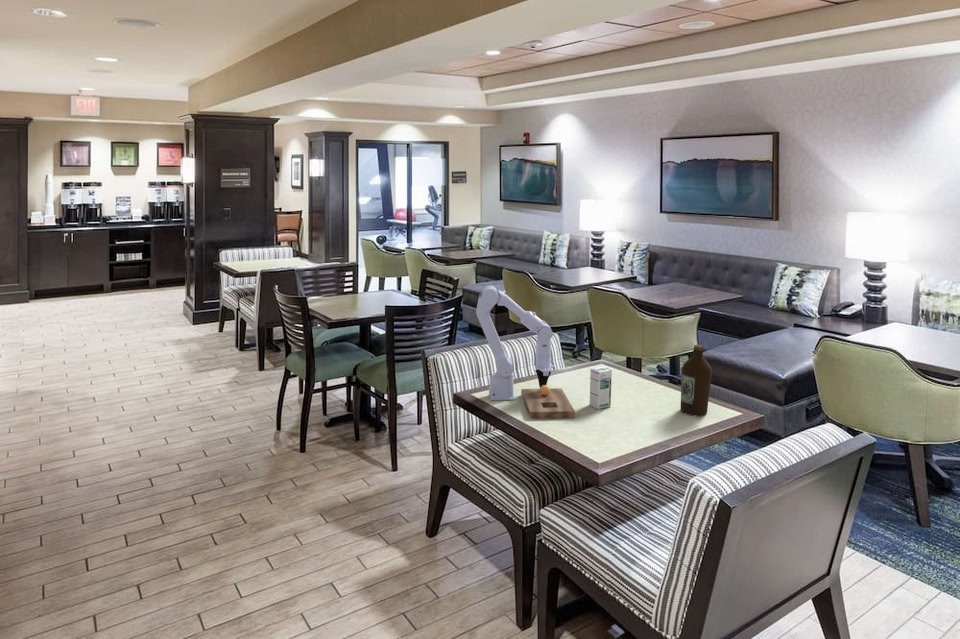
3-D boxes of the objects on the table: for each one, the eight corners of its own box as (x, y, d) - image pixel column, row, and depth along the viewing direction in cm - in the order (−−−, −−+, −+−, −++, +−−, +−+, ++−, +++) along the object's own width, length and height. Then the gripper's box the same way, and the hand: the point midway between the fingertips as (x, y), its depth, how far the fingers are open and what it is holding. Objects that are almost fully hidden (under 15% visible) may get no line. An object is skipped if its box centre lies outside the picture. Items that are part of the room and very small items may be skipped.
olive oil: (694, 405, 255) (699, 341, 250) (715, 414, 246) (720, 347, 240) (672, 409, 251) (676, 343, 245) (692, 418, 241) (697, 350, 236)
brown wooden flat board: (530, 418, 240) (530, 412, 240) (521, 395, 266) (521, 389, 265) (574, 417, 241) (574, 411, 241) (561, 394, 267) (561, 388, 266)
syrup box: (598, 409, 250) (600, 371, 247) (588, 404, 255) (590, 367, 252) (610, 407, 253) (612, 369, 249) (601, 402, 258) (602, 365, 255)
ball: (540, 397, 256) (540, 387, 255) (538, 393, 260) (539, 383, 259) (550, 396, 256) (551, 386, 255) (549, 393, 260) (549, 383, 259)
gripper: (557, 359, 253) (556, 394, 256) (550, 349, 267) (549, 382, 270) (538, 359, 253) (537, 394, 256) (532, 349, 267) (532, 382, 270)
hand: (542, 388), depth 263 cm, fingers closed
